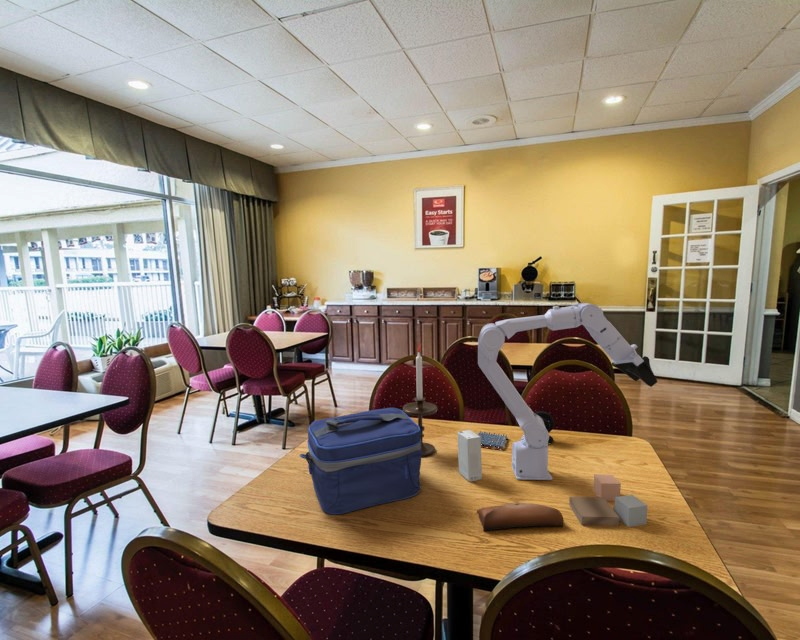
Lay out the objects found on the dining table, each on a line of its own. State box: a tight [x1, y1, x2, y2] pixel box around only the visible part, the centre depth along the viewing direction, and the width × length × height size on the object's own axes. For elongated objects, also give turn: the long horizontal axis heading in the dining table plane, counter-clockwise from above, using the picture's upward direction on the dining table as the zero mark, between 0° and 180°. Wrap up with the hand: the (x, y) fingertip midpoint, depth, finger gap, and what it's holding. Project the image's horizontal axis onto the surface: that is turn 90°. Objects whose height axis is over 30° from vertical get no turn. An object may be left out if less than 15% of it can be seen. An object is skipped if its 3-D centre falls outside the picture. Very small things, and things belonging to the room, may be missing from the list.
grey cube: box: [613, 494, 648, 528], centre depth 91 cm, size 4×4×4 cm
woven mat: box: [477, 430, 509, 451], centre depth 135 cm, size 10×11×2 cm
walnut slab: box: [568, 496, 620, 527], centre depth 93 cm, size 8×8×2 cm
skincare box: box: [457, 429, 483, 482], centre depth 112 cm, size 6×4×12 cm
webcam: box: [534, 410, 555, 445], centre depth 135 cm, size 8×8×10 cm
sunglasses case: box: [476, 502, 565, 531], centre depth 92 cm, size 18×7×7 cm, turn 94°
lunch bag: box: [299, 407, 423, 515], centre depth 107 cm, size 31×21×20 cm
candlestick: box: [402, 343, 438, 458], centre depth 128 cm, size 11×11×35 cm
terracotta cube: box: [593, 473, 621, 502], centre depth 101 cm, size 4×4×4 cm
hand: (646, 381), depth 105 cm, fingers open, 7 cm apart
